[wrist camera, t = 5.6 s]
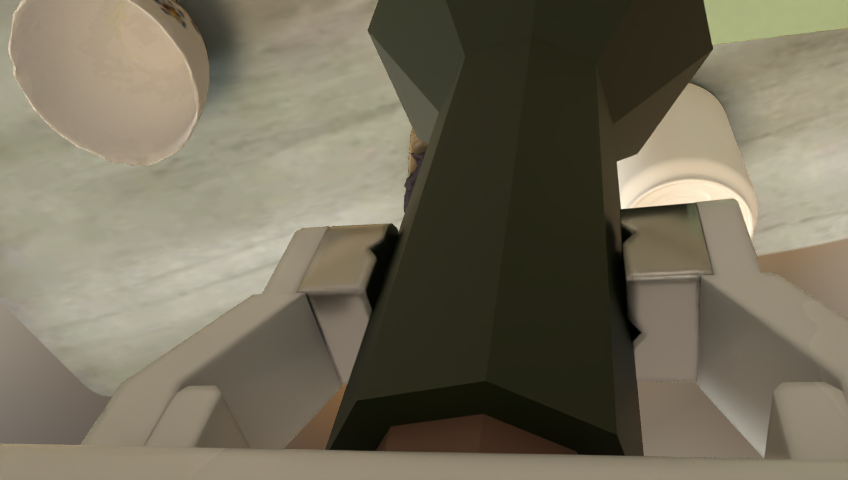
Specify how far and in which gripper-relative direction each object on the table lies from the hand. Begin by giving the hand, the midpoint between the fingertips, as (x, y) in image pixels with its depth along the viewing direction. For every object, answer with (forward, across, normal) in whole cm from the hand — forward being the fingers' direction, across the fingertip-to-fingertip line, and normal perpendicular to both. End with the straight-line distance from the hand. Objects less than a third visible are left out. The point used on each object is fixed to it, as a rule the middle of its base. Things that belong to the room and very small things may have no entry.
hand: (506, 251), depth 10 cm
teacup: (+37, +29, +6) cm, 48 cm away
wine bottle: (+25, 0, 0) cm, 25 cm away
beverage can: (+37, -6, +18) cm, 42 cm away
